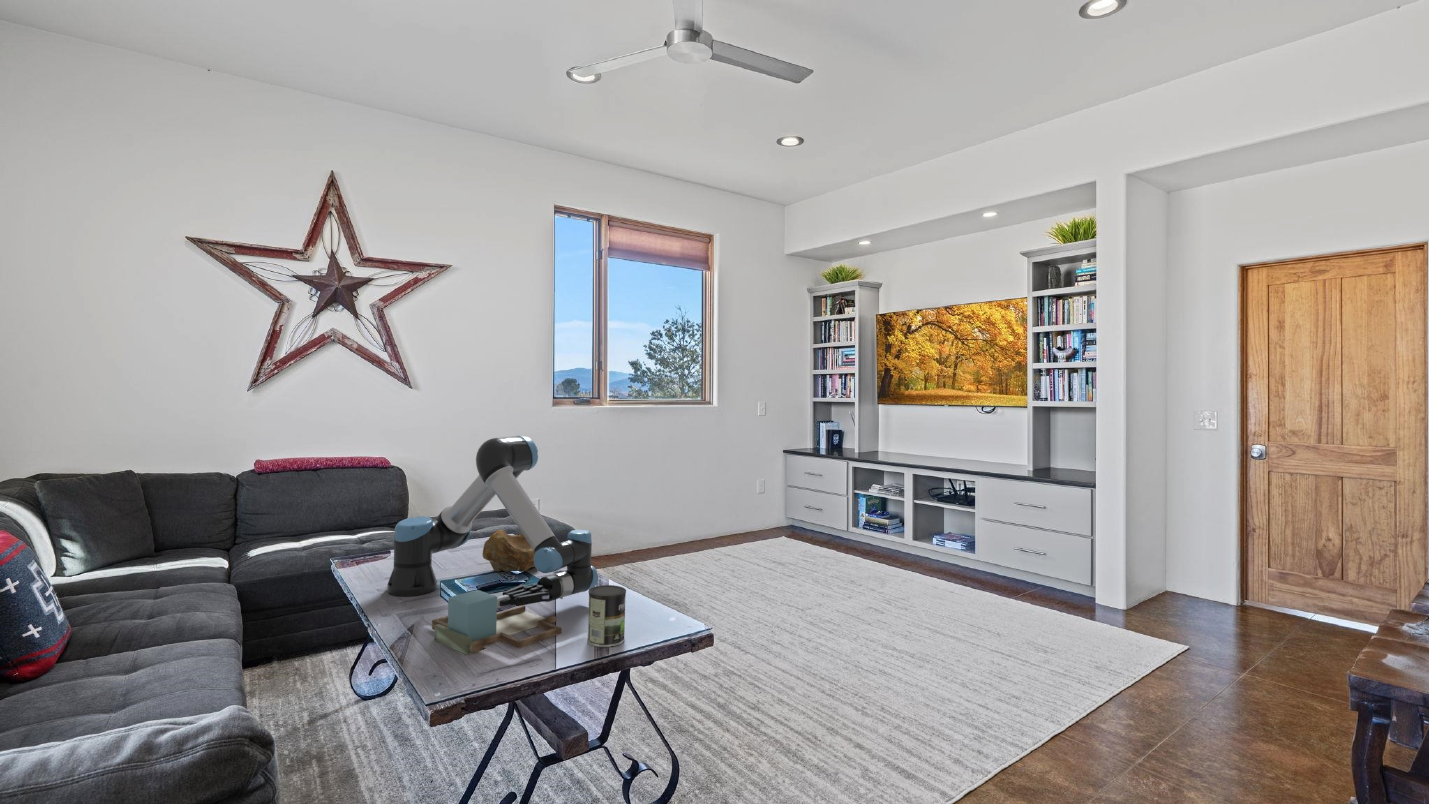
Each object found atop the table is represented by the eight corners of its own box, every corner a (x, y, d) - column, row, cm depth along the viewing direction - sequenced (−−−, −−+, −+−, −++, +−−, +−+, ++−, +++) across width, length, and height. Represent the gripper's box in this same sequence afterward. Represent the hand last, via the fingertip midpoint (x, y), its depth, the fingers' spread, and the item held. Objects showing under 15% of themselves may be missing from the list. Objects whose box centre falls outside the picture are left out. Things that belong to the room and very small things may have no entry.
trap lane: (506, 607, 214) (506, 594, 213) (574, 631, 195) (574, 618, 195) (418, 632, 190) (418, 618, 190) (486, 663, 171) (486, 647, 171)
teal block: (476, 628, 192) (477, 589, 192) (496, 636, 187) (497, 596, 186) (447, 637, 185) (448, 597, 185) (467, 646, 180) (467, 604, 179)
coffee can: (627, 634, 194) (628, 585, 194) (621, 648, 184) (623, 596, 184) (591, 633, 195) (592, 584, 194) (583, 646, 184) (585, 595, 184)
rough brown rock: (500, 583, 241) (504, 542, 240) (476, 569, 252) (480, 530, 251) (555, 573, 258) (559, 534, 257) (530, 561, 269) (534, 524, 268)
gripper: (568, 603, 205) (501, 624, 186) (540, 594, 212) (473, 613, 194) (569, 579, 204) (502, 597, 186) (541, 570, 212) (474, 587, 193)
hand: (487, 605), depth 190 cm, fingers closed
